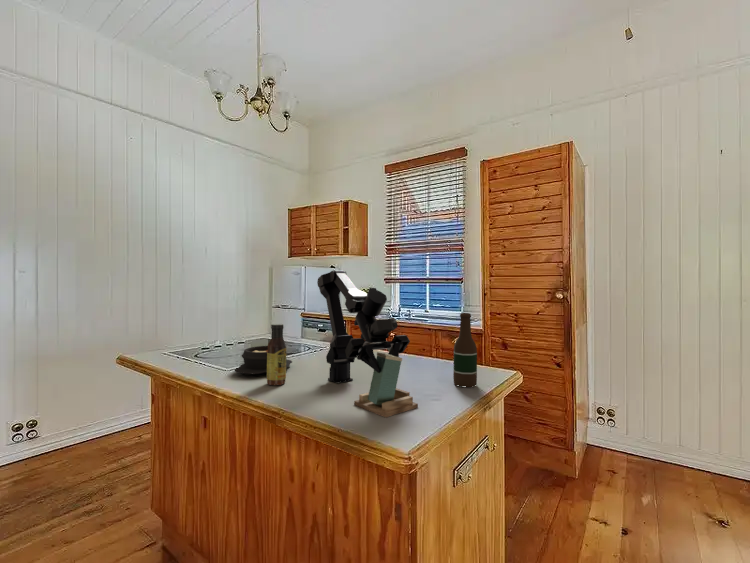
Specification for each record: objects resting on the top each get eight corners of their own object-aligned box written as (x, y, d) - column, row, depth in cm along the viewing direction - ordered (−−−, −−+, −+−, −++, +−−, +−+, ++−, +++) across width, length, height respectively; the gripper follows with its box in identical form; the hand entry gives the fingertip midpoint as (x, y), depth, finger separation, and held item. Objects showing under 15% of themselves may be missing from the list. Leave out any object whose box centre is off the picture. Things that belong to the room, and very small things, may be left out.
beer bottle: (478, 383, 129) (479, 312, 129) (474, 389, 122) (475, 314, 122) (456, 380, 133) (456, 311, 133) (450, 386, 126) (451, 313, 126)
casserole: (264, 381, 131) (264, 356, 131) (221, 376, 137) (221, 352, 137) (303, 366, 154) (303, 345, 154) (265, 362, 161) (265, 342, 161)
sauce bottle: (280, 387, 123) (281, 325, 123) (263, 385, 125) (263, 325, 125) (289, 381, 130) (289, 323, 130) (272, 380, 131) (272, 323, 131)
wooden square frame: (385, 396, 114) (386, 384, 114) (417, 407, 104) (417, 394, 104) (354, 404, 106) (354, 392, 106) (385, 417, 97) (385, 403, 97)
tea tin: (367, 399, 104) (377, 352, 106) (383, 400, 107) (392, 354, 108) (375, 404, 100) (386, 355, 101) (392, 406, 102) (402, 358, 103)
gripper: (349, 309, 104) (368, 355, 94) (406, 307, 113) (429, 349, 103) (337, 335, 111) (354, 381, 101) (392, 332, 120) (412, 373, 110)
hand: (389, 370), depth 104 cm, fingers closed on tea tin, 6 cm apart
